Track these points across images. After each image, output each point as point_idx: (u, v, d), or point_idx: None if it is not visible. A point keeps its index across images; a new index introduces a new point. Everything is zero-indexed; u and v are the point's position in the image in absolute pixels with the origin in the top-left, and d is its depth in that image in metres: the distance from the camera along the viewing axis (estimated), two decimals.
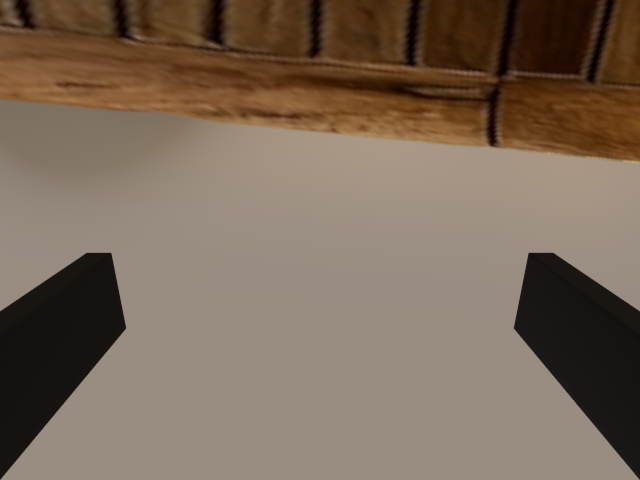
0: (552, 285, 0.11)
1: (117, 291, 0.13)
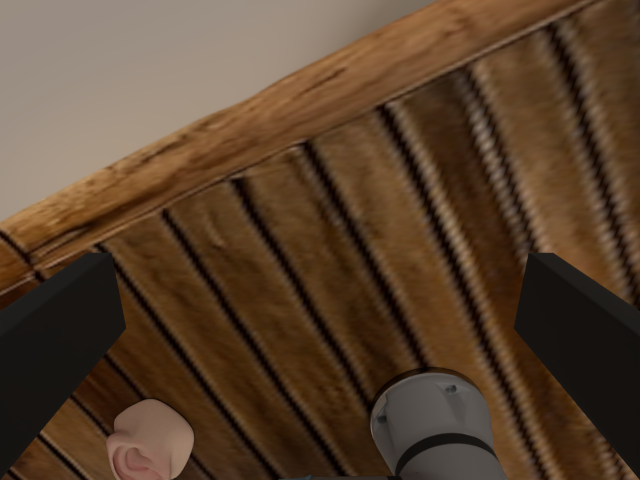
0: (552, 285, 0.11)
1: (117, 291, 0.13)
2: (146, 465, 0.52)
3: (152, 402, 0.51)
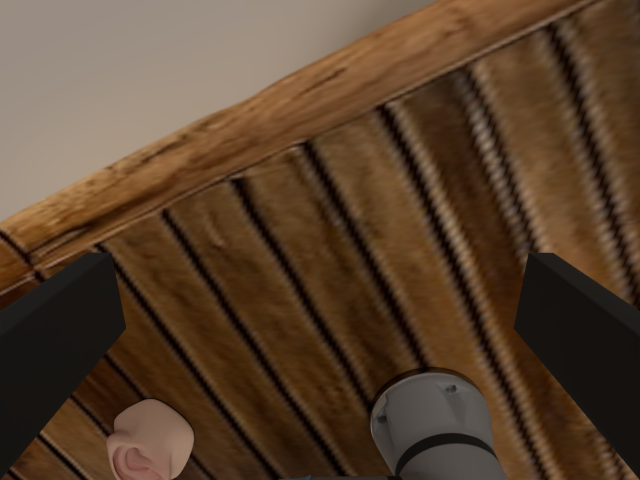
0: (552, 285, 0.11)
1: (117, 291, 0.13)
2: (146, 465, 0.52)
3: (152, 402, 0.51)
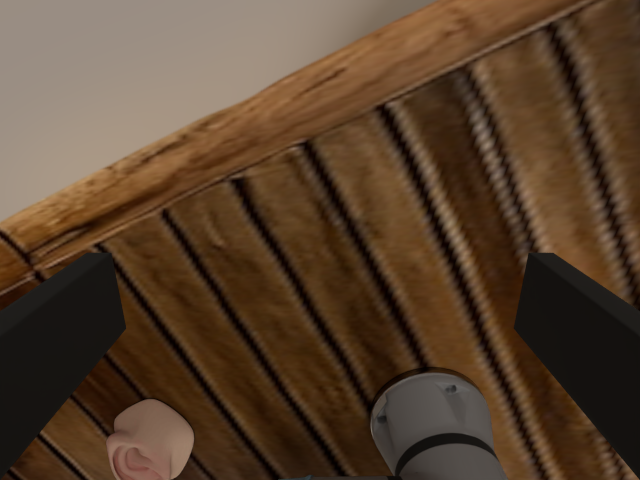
0: (552, 285, 0.11)
1: (117, 291, 0.13)
2: (146, 465, 0.52)
3: (152, 402, 0.51)
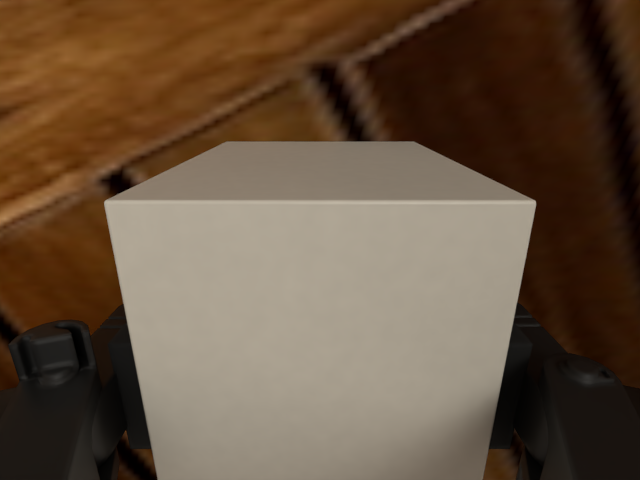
0: None
1: None
2: None
3: None
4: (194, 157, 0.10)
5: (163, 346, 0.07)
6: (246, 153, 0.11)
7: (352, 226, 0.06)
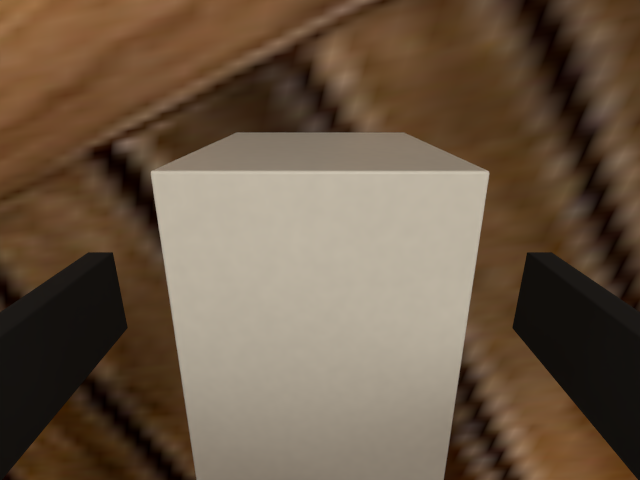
0: (551, 285, 0.11)
1: (118, 290, 0.13)
2: None
3: None
4: (212, 144, 0.12)
5: (193, 291, 0.09)
6: (256, 141, 0.13)
7: (345, 191, 0.08)
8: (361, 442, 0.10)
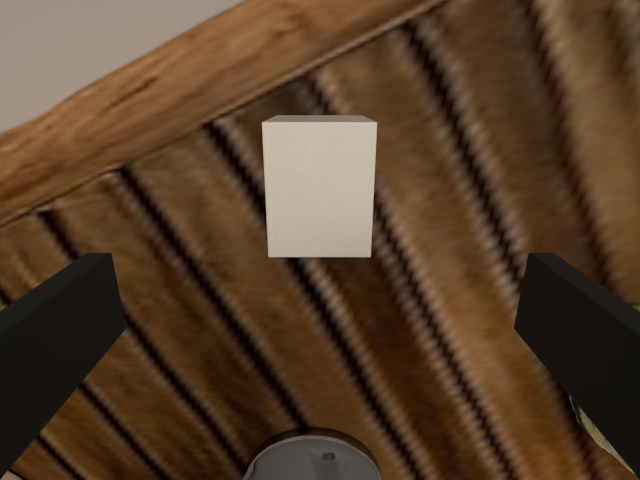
0: (553, 285, 0.11)
1: (117, 291, 0.13)
2: None
3: None
4: None
5: (273, 167, 0.24)
6: (290, 117, 0.28)
7: (328, 129, 0.23)
8: (336, 236, 0.26)
